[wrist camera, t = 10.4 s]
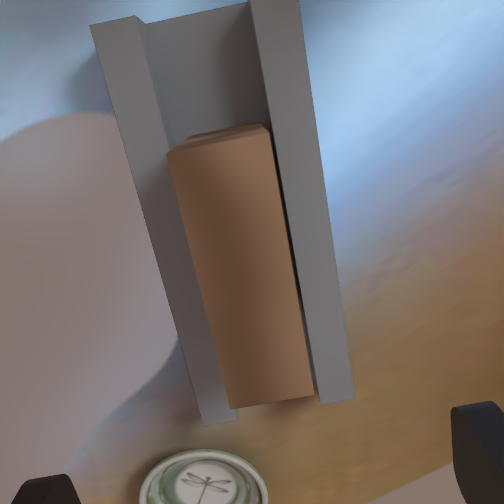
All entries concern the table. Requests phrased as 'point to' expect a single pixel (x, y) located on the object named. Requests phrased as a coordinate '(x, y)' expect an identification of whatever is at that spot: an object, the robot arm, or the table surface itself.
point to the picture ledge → (216, 118)
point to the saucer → (203, 480)
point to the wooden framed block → (243, 262)
